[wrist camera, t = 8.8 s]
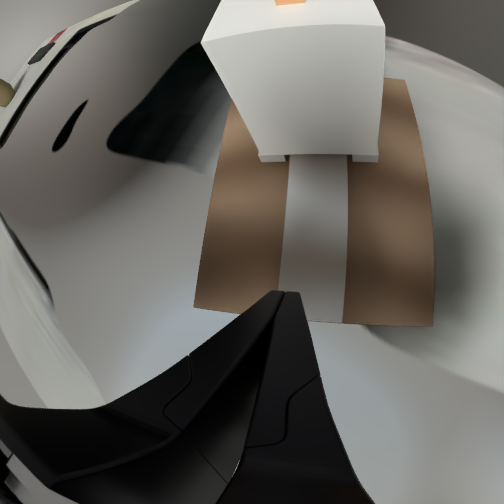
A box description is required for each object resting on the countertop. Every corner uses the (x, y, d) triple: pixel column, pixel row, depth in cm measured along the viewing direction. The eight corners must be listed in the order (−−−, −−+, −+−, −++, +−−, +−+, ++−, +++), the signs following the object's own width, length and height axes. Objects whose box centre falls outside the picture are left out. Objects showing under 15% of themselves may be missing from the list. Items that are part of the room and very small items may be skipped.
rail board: (426, 326, 14) (454, 325, 10) (202, 308, 18) (164, 302, 14) (403, 89, 18) (407, 49, 14) (239, 93, 22) (221, 58, 18)
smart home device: (37, 59, 56) (26, 63, 63) (40, 61, 58) (29, 65, 65) (54, 41, 57) (40, 47, 64) (56, 43, 58) (42, 50, 66)
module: (377, 162, 16) (390, 4, 6) (261, 162, 18) (185, 26, 8) (370, 104, 17) (365, -34, 7) (268, 106, 19) (213, -17, 9)
